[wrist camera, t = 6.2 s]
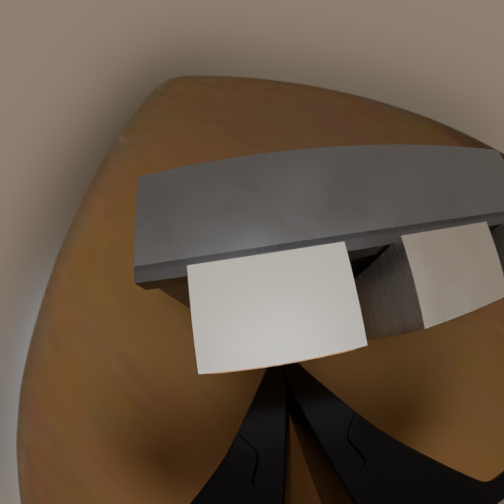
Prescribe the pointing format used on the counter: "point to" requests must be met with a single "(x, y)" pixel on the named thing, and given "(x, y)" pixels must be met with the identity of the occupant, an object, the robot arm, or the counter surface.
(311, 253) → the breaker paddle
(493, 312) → the counter surface
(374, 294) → the box
